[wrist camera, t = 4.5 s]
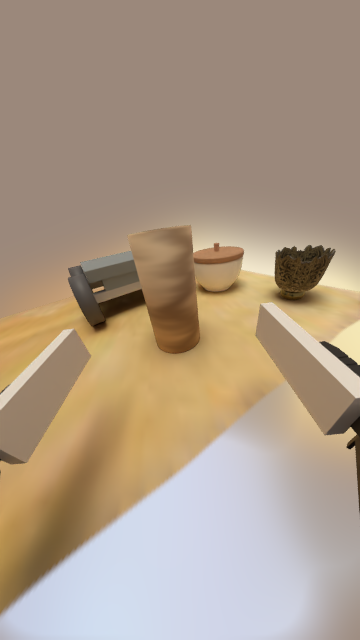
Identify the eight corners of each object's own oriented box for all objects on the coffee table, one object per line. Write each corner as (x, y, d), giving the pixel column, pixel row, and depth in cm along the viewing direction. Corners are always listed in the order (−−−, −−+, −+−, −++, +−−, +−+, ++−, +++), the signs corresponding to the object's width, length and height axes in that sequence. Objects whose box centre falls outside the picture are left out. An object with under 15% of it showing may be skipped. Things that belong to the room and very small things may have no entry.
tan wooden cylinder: (169, 360, 20) (140, 235, 12) (150, 336, 25) (120, 235, 17) (208, 338, 22) (204, 223, 15) (184, 320, 27) (171, 226, 19)
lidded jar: (251, 286, 35) (257, 239, 30) (211, 301, 32) (210, 251, 26) (220, 275, 43) (220, 237, 38) (186, 286, 40) (181, 246, 35)
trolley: (94, 334, 27) (65, 281, 22) (86, 300, 41) (67, 263, 36) (178, 300, 34) (171, 253, 29) (146, 281, 48) (137, 247, 43)
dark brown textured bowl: (266, 303, 28) (274, 256, 24) (269, 287, 33) (277, 246, 29) (320, 309, 24) (341, 255, 20) (314, 290, 30) (330, 243, 25)
